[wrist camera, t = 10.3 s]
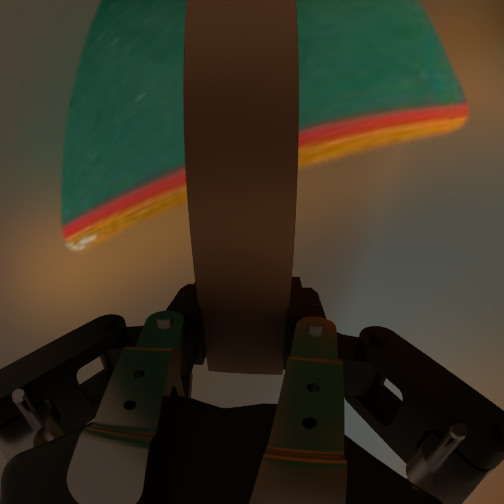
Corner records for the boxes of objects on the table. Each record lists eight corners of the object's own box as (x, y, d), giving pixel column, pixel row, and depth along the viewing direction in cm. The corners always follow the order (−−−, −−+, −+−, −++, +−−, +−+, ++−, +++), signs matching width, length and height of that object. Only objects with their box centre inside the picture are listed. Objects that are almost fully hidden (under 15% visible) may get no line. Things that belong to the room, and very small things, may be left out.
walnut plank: (217, -39, 6) (198, -86, 3) (283, -42, 6) (287, -91, 3) (222, 313, 14) (208, 370, 10) (280, 315, 14) (282, 374, 10)
